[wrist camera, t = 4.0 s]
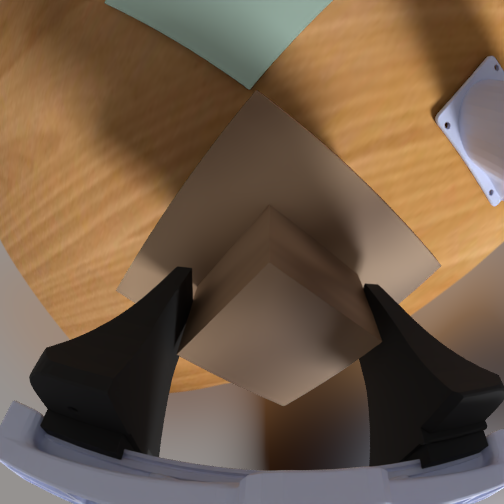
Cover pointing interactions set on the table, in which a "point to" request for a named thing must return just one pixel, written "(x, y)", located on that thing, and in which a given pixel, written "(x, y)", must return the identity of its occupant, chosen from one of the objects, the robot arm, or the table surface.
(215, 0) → the mat
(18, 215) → the table surface
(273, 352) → the lid
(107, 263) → the table surface
